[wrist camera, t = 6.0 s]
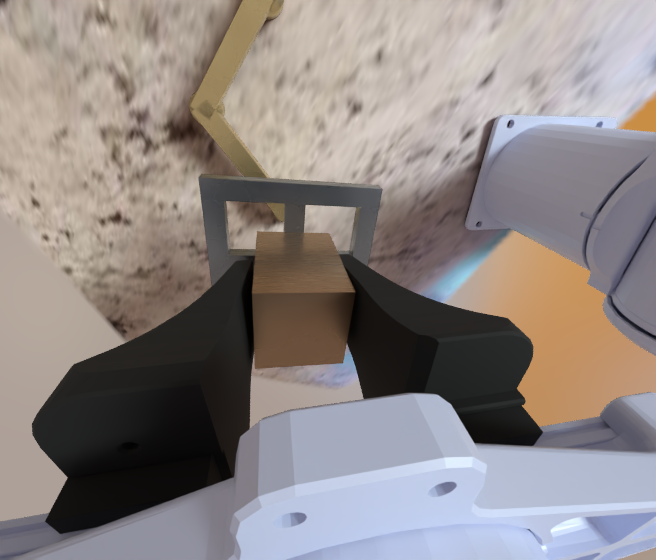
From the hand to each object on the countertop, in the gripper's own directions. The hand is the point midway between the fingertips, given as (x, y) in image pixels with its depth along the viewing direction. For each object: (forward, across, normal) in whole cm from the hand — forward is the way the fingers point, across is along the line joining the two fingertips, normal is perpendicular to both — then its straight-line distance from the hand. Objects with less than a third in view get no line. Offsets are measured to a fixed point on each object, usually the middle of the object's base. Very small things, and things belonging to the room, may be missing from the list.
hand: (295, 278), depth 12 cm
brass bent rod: (+10, +2, -5) cm, 11 cm away
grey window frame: (+2, 0, 0) cm, 2 cm away
